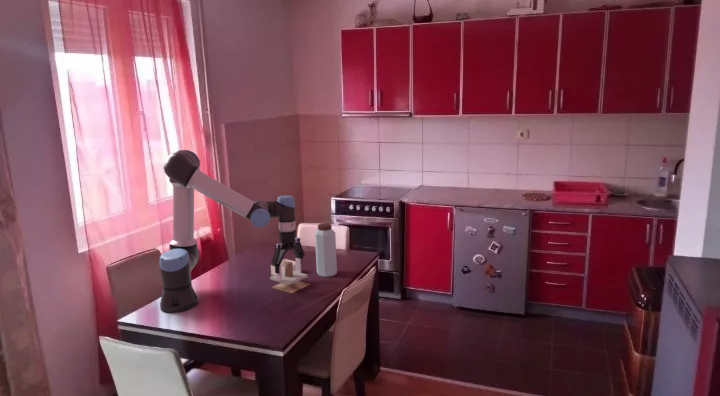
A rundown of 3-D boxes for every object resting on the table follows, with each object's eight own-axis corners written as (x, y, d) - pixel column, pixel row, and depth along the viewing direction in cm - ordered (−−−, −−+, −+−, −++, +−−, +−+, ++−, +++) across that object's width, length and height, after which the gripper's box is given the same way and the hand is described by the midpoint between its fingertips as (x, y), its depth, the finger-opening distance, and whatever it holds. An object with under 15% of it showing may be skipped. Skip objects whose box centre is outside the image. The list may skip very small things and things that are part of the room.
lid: (289, 284, 224) (288, 269, 222) (270, 279, 231) (269, 264, 229) (307, 277, 233) (307, 262, 232) (288, 271, 240) (288, 257, 239)
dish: (286, 279, 243) (285, 268, 242) (271, 275, 249) (270, 264, 247) (300, 272, 251) (299, 262, 249) (285, 269, 256) (285, 259, 255)
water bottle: (338, 271, 251) (336, 222, 246) (335, 278, 241) (333, 227, 236) (318, 271, 252) (316, 222, 247) (315, 278, 242) (312, 227, 238)
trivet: (291, 294, 224) (291, 293, 224) (270, 288, 231) (270, 287, 231) (311, 285, 234) (310, 283, 234) (290, 279, 242) (290, 278, 242)
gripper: (273, 237, 216) (275, 285, 220) (311, 225, 235) (312, 269, 239) (261, 234, 220) (263, 281, 224) (299, 223, 239) (301, 266, 243)
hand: (289, 275), depth 232 cm, fingers closed on lid, 12 cm apart
